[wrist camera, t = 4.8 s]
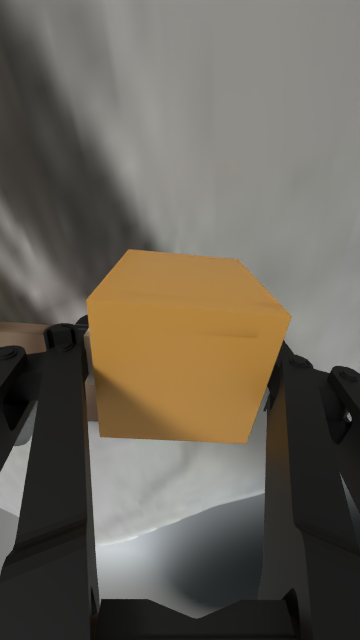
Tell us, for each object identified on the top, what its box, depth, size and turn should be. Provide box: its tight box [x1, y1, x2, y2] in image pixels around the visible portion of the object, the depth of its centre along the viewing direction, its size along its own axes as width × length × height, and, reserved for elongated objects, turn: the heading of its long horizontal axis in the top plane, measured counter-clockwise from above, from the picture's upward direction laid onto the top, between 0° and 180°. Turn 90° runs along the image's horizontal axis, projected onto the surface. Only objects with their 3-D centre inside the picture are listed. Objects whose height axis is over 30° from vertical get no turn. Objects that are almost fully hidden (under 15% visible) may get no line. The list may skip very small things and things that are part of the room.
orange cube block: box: [86, 249, 292, 444], centre depth 13 cm, size 7×7×8 cm
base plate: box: [0, 321, 98, 421], centre depth 27 cm, size 14×12×2 cm
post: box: [14, 400, 38, 446], centre depth 23 cm, size 3×3×6 cm
